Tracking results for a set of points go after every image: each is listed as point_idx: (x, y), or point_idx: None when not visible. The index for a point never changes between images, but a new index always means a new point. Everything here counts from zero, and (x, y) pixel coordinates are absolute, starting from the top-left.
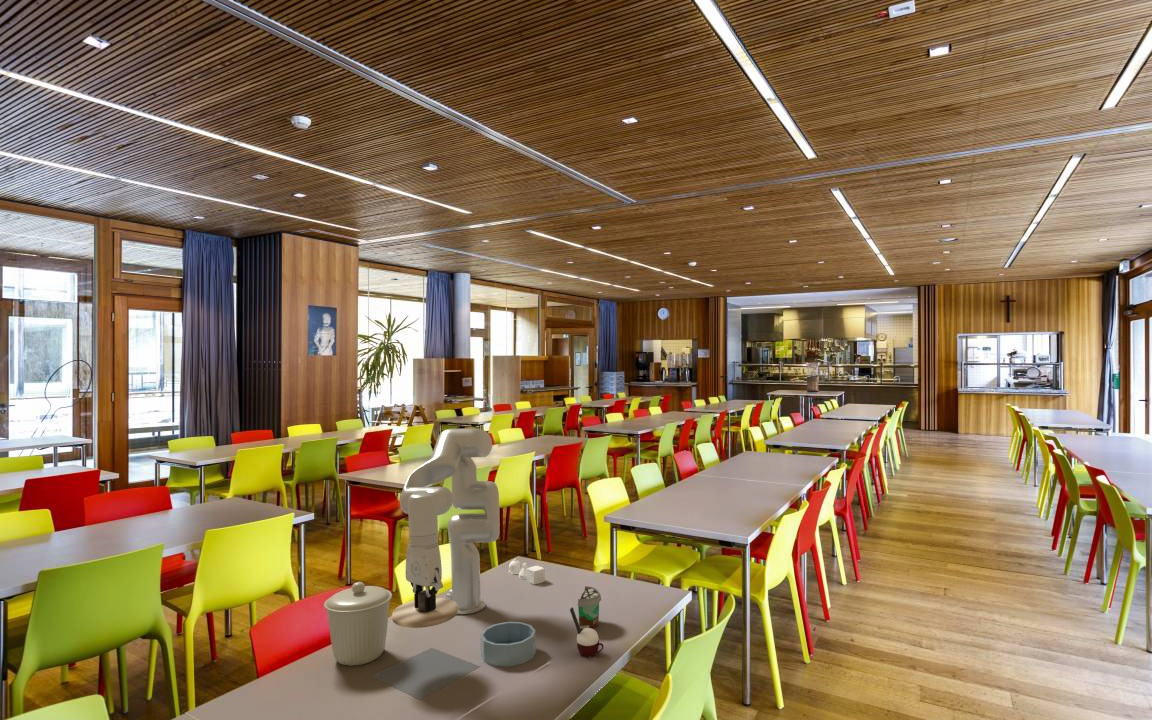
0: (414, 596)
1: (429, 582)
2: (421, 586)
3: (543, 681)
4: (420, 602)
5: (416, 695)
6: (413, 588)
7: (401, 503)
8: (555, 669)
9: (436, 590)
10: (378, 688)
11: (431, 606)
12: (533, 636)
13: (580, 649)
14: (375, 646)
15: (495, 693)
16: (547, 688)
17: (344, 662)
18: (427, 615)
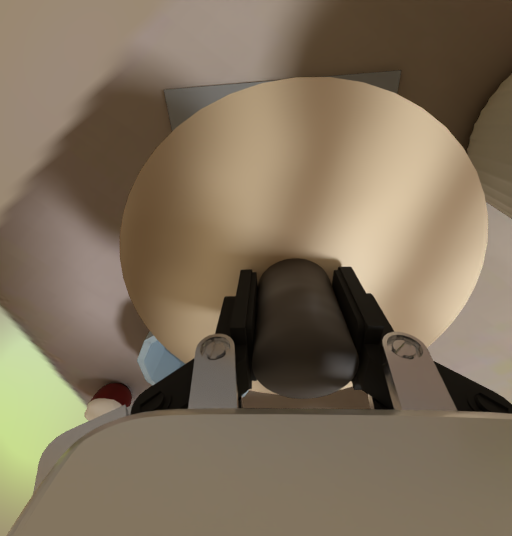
0: (373, 310)
1: (32, 498)
2: (386, 408)
3: (78, 308)
4: (292, 291)
5: (189, 97)
6: (423, 362)
7: None
8: (104, 341)
9: (116, 409)
10: (325, 44)
11: (225, 306)
12: (151, 382)
13: (108, 390)
14: (490, 141)
15: (87, 233)
16: (51, 296)
17: None
18: (216, 253)
